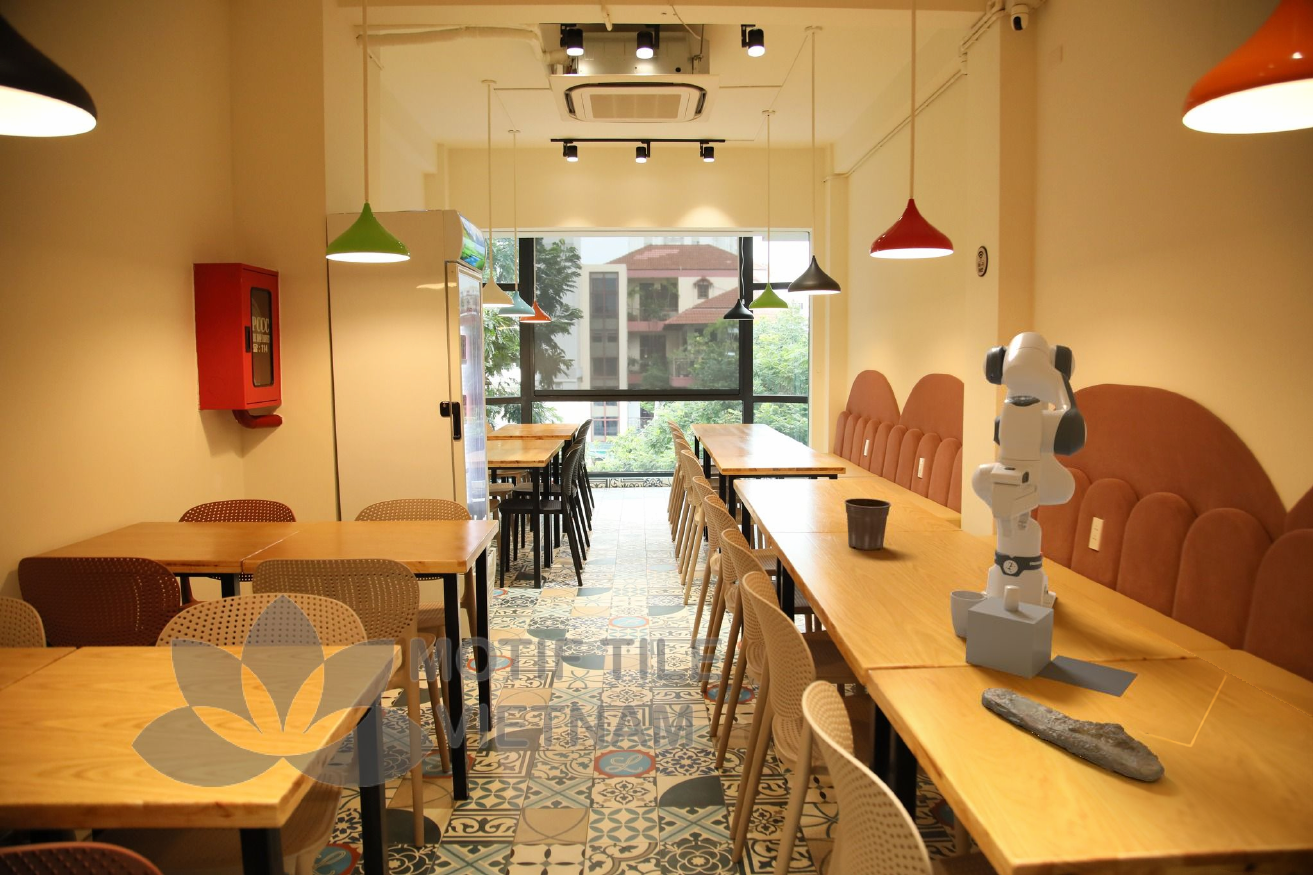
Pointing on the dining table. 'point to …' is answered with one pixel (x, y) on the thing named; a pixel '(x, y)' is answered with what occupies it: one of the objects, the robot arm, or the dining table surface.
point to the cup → (963, 609)
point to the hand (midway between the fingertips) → (1015, 533)
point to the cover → (1009, 635)
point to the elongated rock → (1078, 735)
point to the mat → (1088, 675)
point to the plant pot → (866, 522)
